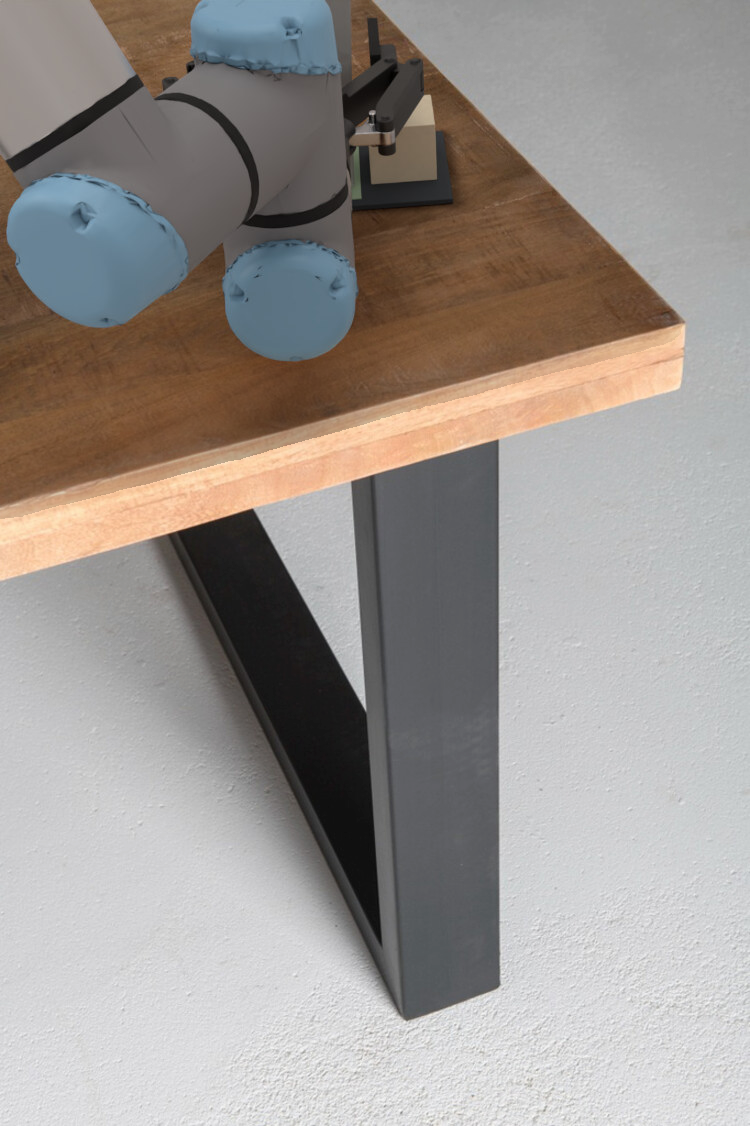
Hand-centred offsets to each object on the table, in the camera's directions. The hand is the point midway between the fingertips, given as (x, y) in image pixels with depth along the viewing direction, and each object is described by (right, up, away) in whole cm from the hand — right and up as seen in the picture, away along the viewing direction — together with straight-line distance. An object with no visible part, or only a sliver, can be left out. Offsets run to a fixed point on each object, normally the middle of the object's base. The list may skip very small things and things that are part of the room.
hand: (294, 41), depth 106 cm
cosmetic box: (+1, -9, +3) cm, 10 cm away
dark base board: (+1, -9, +3) cm, 10 cm away
